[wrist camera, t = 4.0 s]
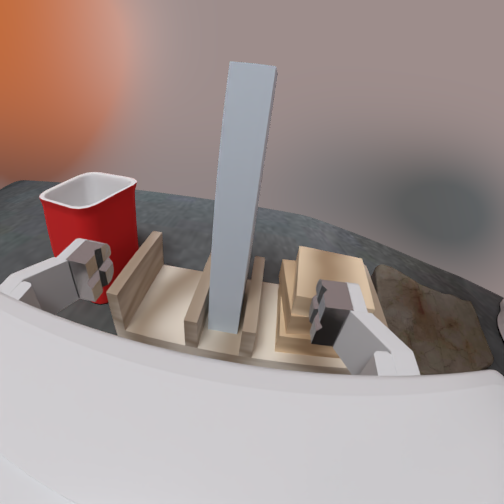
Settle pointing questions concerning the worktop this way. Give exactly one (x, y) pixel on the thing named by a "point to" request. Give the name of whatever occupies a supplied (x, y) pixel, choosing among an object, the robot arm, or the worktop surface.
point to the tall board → (238, 188)
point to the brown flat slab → (432, 324)
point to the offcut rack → (205, 313)
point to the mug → (94, 216)
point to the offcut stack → (311, 296)
